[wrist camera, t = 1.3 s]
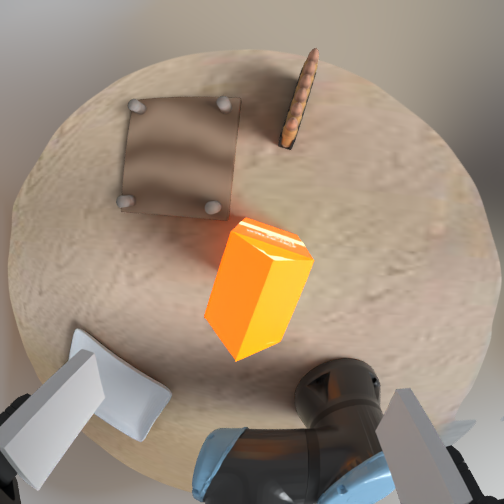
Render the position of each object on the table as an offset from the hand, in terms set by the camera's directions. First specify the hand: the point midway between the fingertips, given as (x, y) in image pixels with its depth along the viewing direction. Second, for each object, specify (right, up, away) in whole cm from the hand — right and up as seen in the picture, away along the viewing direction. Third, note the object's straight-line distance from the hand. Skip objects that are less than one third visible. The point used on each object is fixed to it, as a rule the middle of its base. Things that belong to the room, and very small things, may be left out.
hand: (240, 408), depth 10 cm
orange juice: (+2, +6, +29) cm, 30 cm away
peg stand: (-10, +20, +27) cm, 35 cm away
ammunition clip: (+6, +25, +25) cm, 36 cm away
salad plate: (-27, -20, +37) cm, 50 cm away
